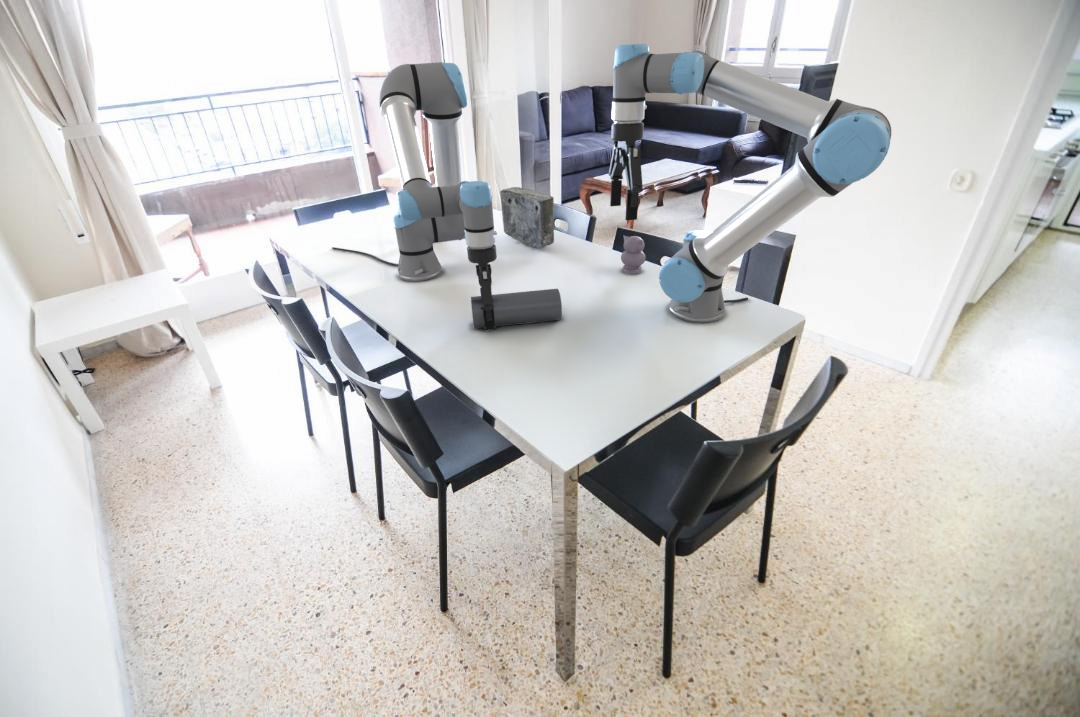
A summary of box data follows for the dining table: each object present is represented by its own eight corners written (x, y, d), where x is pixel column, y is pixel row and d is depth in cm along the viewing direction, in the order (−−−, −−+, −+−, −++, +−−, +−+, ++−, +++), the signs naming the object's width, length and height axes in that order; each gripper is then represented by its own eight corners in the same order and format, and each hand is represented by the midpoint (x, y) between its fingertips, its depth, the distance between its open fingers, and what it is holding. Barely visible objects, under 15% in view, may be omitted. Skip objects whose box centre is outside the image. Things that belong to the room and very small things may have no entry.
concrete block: (559, 249, 192) (558, 197, 182) (540, 255, 188) (538, 201, 178) (520, 233, 211) (518, 185, 200) (503, 238, 207) (499, 188, 196)
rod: (474, 334, 137) (471, 305, 132) (473, 319, 144) (470, 291, 139) (562, 325, 139) (561, 296, 135) (556, 311, 147) (555, 283, 142)
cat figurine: (649, 270, 171) (652, 236, 165) (636, 276, 167) (638, 242, 160) (628, 264, 176) (630, 231, 170) (615, 271, 172) (617, 237, 165)
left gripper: (499, 260, 118) (506, 338, 129) (492, 230, 140) (498, 299, 150) (468, 262, 117) (477, 341, 128) (465, 232, 139) (473, 301, 150)
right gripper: (662, 126, 106) (653, 225, 118) (627, 115, 128) (622, 199, 139) (628, 128, 106) (623, 227, 117) (598, 117, 127) (596, 201, 138)
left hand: (488, 318), depth 140 cm, fingers open, 13 cm apart
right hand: (622, 212), depth 128 cm, fingers open, 13 cm apart
